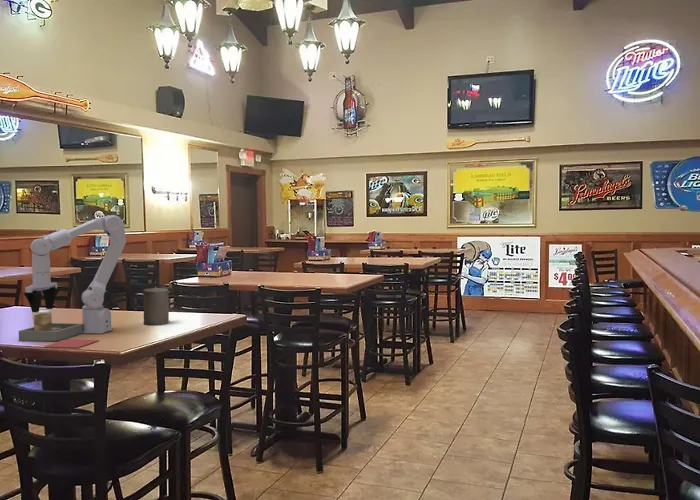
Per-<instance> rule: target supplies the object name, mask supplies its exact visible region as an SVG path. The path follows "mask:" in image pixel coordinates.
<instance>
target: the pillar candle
mask: <svg viewBox="0 0 700 500" xmlns="http://www.w3.org/2000/svg"><path fill="white" fill-rule="evenodd" d="M142 296H143V297H142V298H143V325H145V326H163V325H167V323H168V324H169V321H170V317H169V316H170V315H169V306H170V305H169V289H168V288H163V287H162V288H161V287H160V288H159V287H157V286H155V287H151V288H145V289H143V295H142Z"/></svg>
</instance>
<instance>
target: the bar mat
mask: <svg viewBox="0 0 700 500" xmlns="http://www.w3.org/2000/svg"><path fill="white" fill-rule="evenodd" d="M97 342H100V340H99V339H81V338H80V339H70V338H67V339H64V340H61V341H58V342H52V343H50V344H47V345H44V347H43V348H45V349H49V348H50V349H81V348H83V347H84V348H85V347H87V346H90V345H91V344H95V343H97Z"/></svg>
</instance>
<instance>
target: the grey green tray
mask: <svg viewBox="0 0 700 500" xmlns="http://www.w3.org/2000/svg"><path fill="white" fill-rule="evenodd" d="M82 332H84V324H83V323H74V322H73V323H68V322H67V323H63V322H52V330H51V331H34V326H32V327H28V328H24V329H21V330H18V342H45V343H48V342H49V343H50V342H51V343H56V342H60V341H63V340H66V339H70V338H72V337H76V336H79V334H80V335H82Z"/></svg>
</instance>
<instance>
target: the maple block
mask: <svg viewBox="0 0 700 500" xmlns="http://www.w3.org/2000/svg"><path fill="white" fill-rule="evenodd" d="M52 321H53V319H52V314H42V313H41V314H37V315H34V325H33V327H34V331H51V330H52V323H53V322H52Z"/></svg>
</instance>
